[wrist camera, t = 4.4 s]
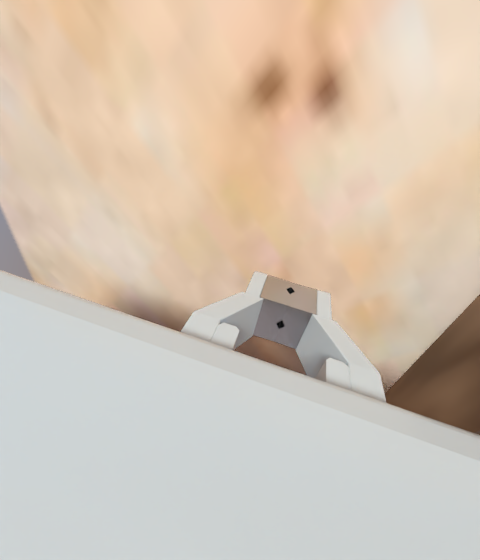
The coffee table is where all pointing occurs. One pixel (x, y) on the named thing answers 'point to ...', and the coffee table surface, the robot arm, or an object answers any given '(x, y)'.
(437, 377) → the walnut T block
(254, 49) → the coffee table surface
